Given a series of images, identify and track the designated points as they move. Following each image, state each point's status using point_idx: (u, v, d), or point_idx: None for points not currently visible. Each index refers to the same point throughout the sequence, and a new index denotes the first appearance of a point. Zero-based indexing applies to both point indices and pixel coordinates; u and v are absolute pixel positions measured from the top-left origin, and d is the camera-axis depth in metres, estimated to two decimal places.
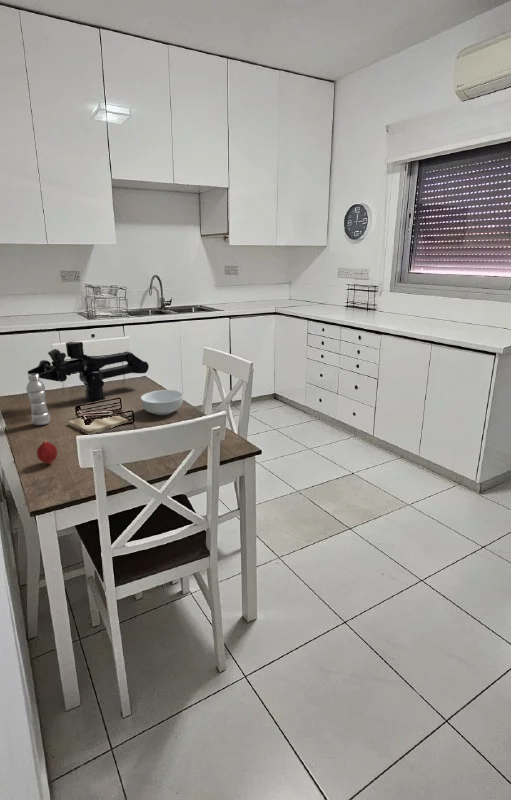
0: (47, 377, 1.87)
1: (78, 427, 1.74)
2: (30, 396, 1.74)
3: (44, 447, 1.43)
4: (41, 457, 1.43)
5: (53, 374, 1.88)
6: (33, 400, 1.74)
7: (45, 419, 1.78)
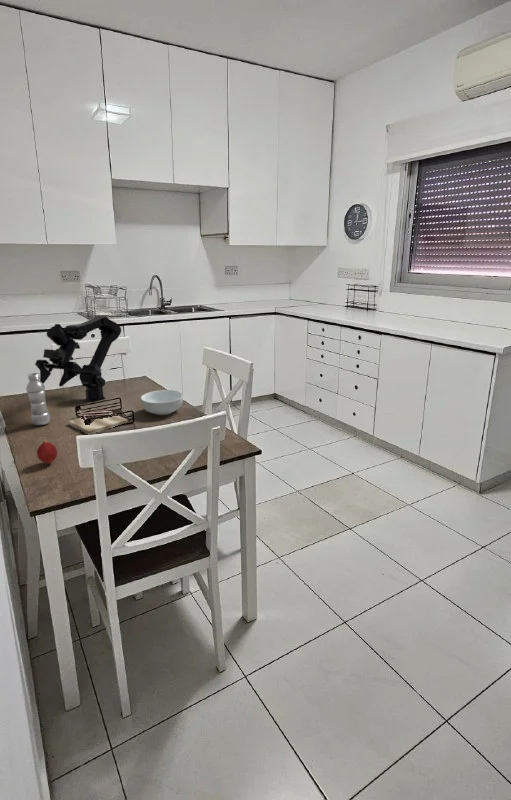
0: (67, 379, 1.84)
1: (78, 427, 1.74)
2: (30, 396, 1.74)
3: (44, 447, 1.43)
4: (41, 457, 1.43)
5: (68, 373, 1.84)
6: (33, 400, 1.74)
7: (45, 419, 1.78)
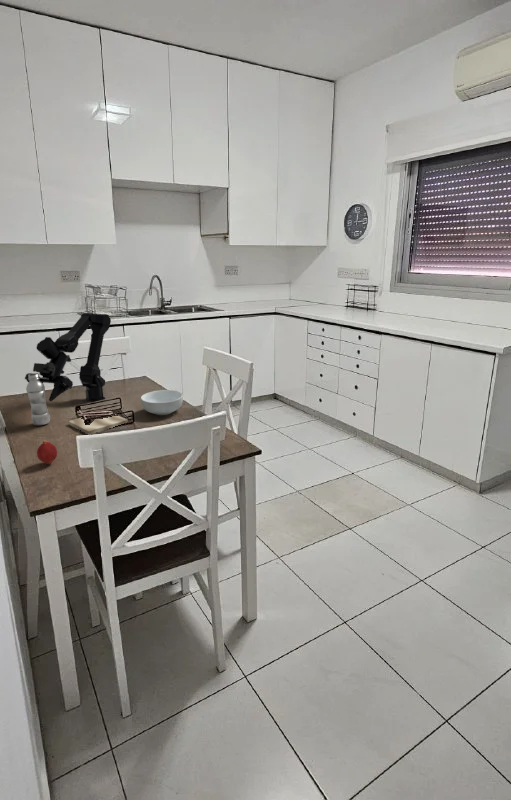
0: (57, 394, 1.79)
1: (78, 427, 1.74)
2: (30, 396, 1.74)
3: (44, 447, 1.43)
4: (41, 457, 1.43)
5: (59, 387, 1.80)
6: (33, 400, 1.74)
7: (45, 419, 1.78)
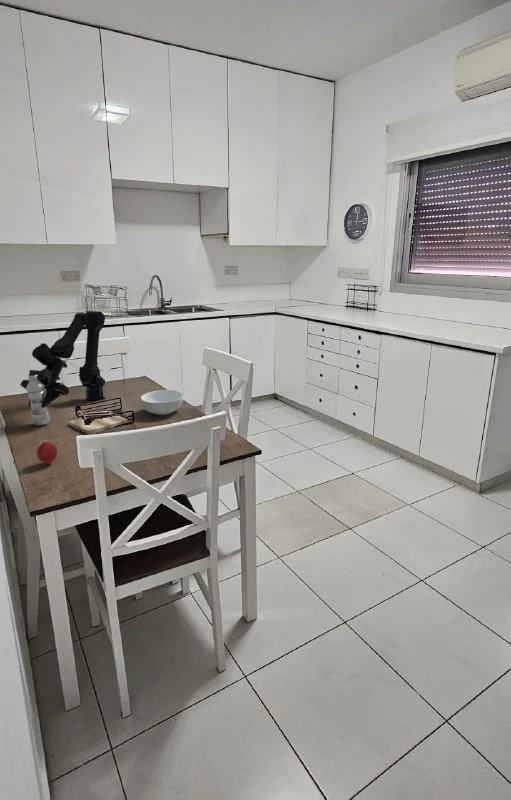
0: (50, 400, 1.78)
1: (78, 427, 1.74)
2: (30, 396, 1.74)
3: (44, 447, 1.43)
4: (41, 457, 1.43)
5: (51, 394, 1.78)
6: (33, 400, 1.74)
7: (45, 419, 1.78)
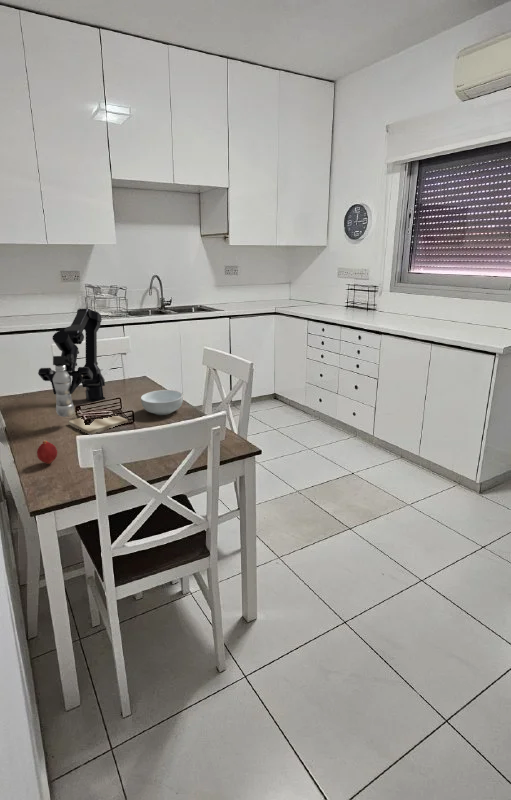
0: (76, 386, 1.75)
1: (78, 427, 1.74)
2: (59, 387, 1.70)
3: (44, 447, 1.43)
4: (41, 457, 1.43)
5: (76, 379, 1.76)
6: (63, 391, 1.71)
7: (72, 409, 1.76)
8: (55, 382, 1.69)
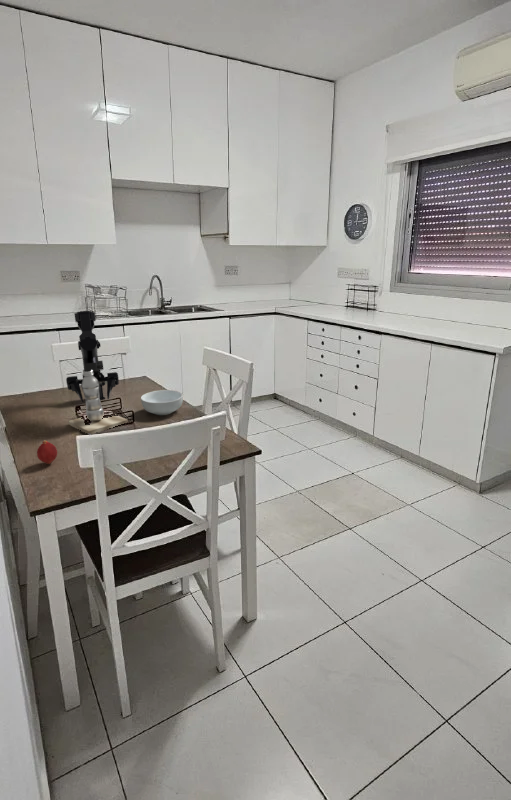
0: (110, 391, 1.79)
1: (78, 427, 1.74)
2: (91, 392, 1.72)
3: (44, 447, 1.43)
4: (41, 457, 1.43)
5: None
6: (95, 395, 1.73)
7: (103, 412, 1.79)
8: (86, 387, 1.71)
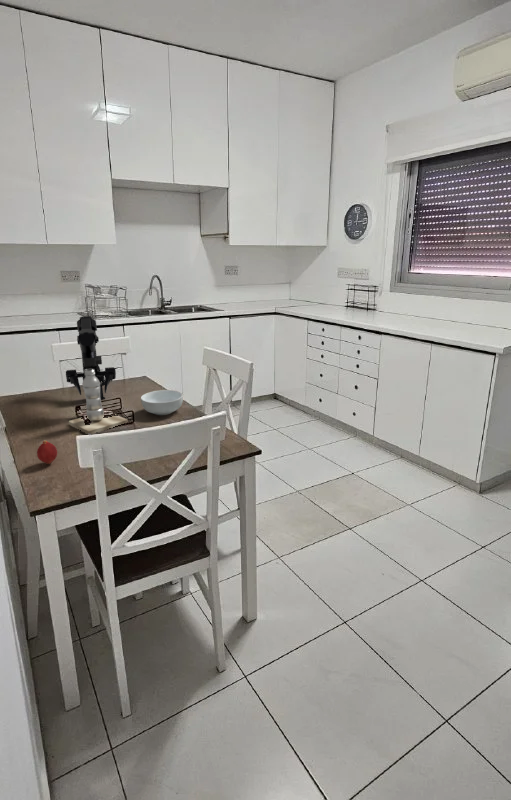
0: (107, 385, 1.88)
1: (78, 427, 1.74)
2: (92, 391, 1.73)
3: (44, 447, 1.43)
4: (41, 457, 1.43)
5: None
6: (95, 394, 1.74)
7: (103, 412, 1.79)
8: (87, 387, 1.72)
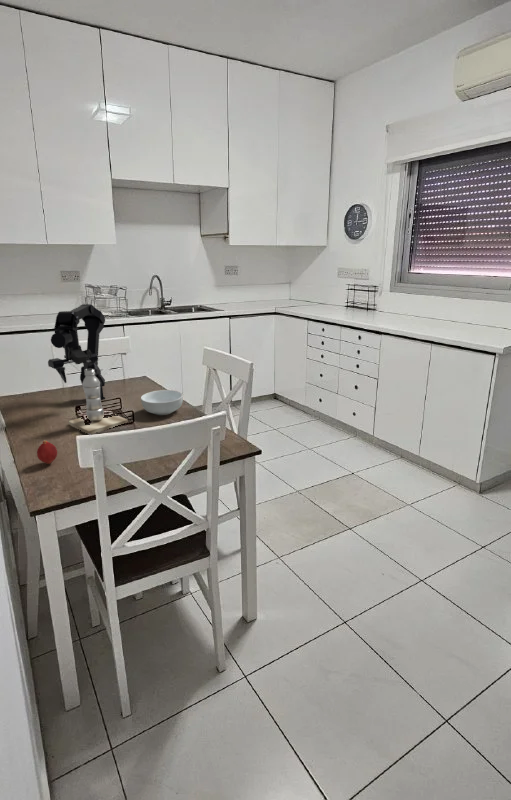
0: None
1: (78, 427, 1.74)
2: (92, 391, 1.73)
3: (44, 447, 1.43)
4: (41, 457, 1.43)
5: None
6: (95, 394, 1.74)
7: (103, 412, 1.79)
8: (87, 387, 1.72)
